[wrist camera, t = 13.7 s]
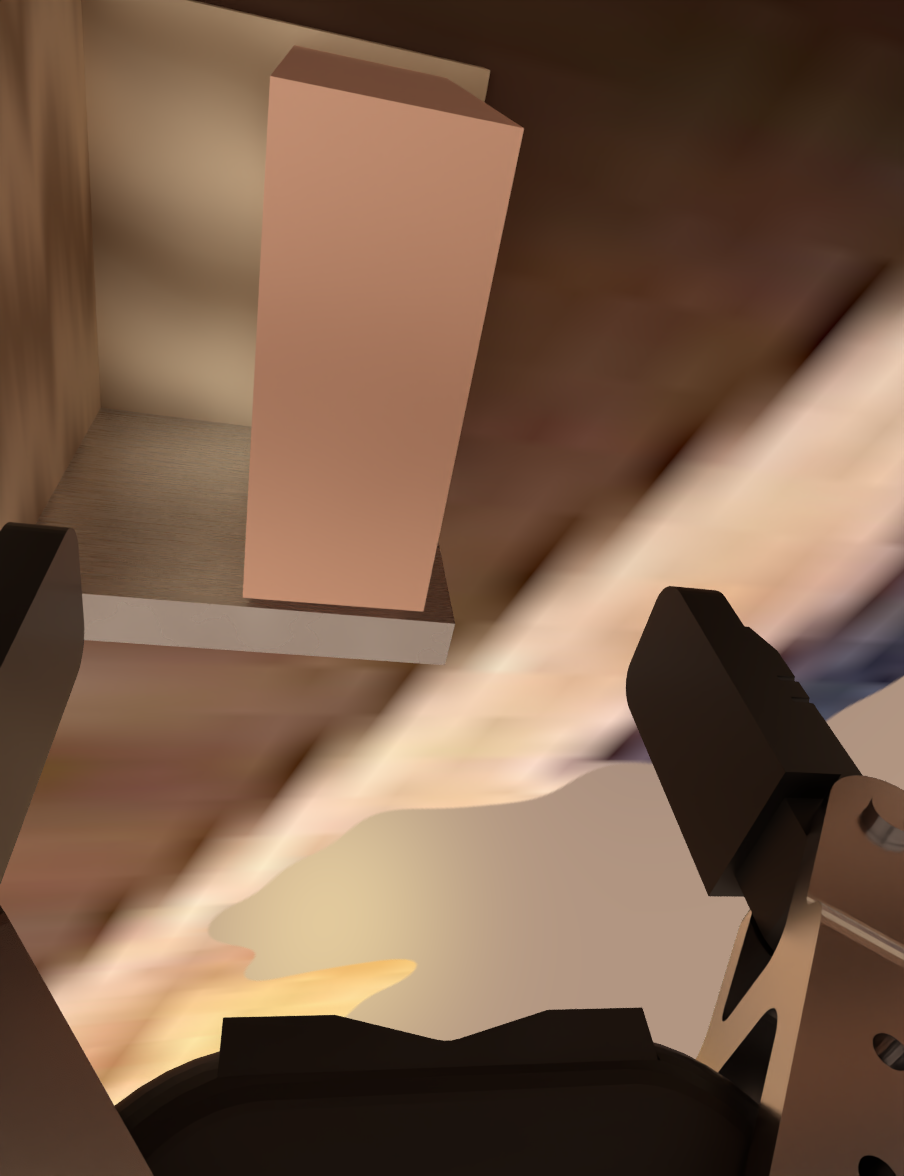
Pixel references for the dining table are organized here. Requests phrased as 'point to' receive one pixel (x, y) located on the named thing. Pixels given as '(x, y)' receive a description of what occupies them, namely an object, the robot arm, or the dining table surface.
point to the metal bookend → (204, 551)
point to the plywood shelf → (135, 215)
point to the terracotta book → (367, 323)
